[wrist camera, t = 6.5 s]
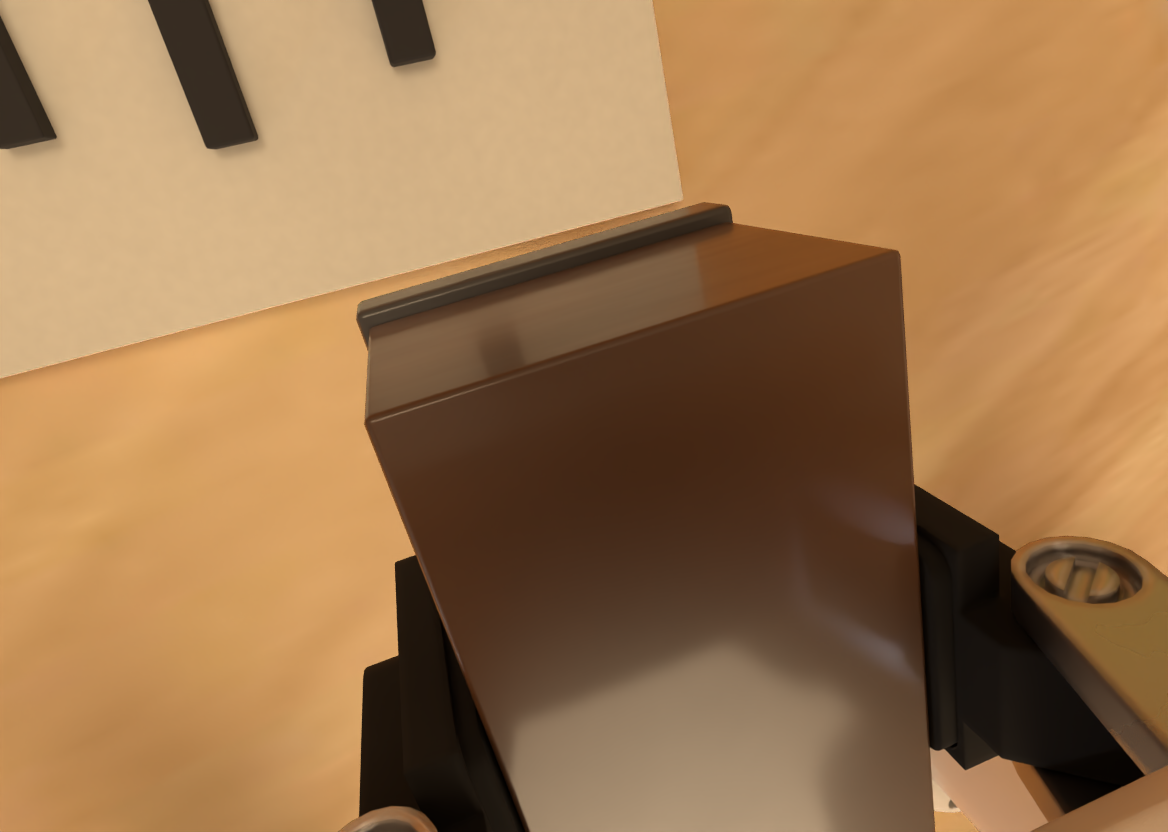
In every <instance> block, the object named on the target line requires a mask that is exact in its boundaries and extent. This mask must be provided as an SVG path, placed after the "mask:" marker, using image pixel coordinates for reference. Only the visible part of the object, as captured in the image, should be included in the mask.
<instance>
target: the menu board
mask: <svg viewBox="0 0 1168 832" xmlns="http://www.w3.org/2000/svg"><path fill="white" fill-rule="evenodd" d="M422 1H423V4H424V8H425V12H426V16H427V20H428V23H429V27H430V31H431V35H432V38H433V42H434V46H435V50H436V55H435V57H434V58H433V59H431V60H426V61H421V62H417V63H412V64H407V65H402V66H398V67H392V66H391V65H390V62H389V59H388V56H387V52H386V49H385V45H384V42H383V38H382V35H381V31H380V28H379V24H378V21H377V17H376V14H375V11H374V7H373V4H372V0H209V3H210V6H211V9H212V11H213V14H214V17H215V20H216V22H217V25H218V28H219V30H220V33H221V36H222V39H223V41H224V44H225V47H226V50H227V52H228V55H229V58H230V60H231V63H232V66H233V69H234V71H235V74H236V77H237V80H238V82H239V85H240V88H241V90H242V93H243V96H244V99H245V101H246V104H247V107H248V110H249V112H250V115H251V118H252V121H253V123H254V126H255V129H256V131H257V134H258V140H256V141H252V142H248V143H243V144H239V145H234V146H230V147H225V148H221V149H216V150H215V149H207V147H206V146H205V144H204V141H203V139H202V136H201V134H200V131H199V129H198V126H197V124H196V121H195V119H194V116H193V113H192V111H191V108H190V106H189V103H188V101H187V98H186V96H185V93H184V91H183V88H182V86H181V83H180V81H179V78H178V76H177V73H176V70H175V68H174V65H173V63H172V60H171V58H170V55H169V53H168V50H167V48H166V45H165V43H164V40H163V38H162V35H161V33H160V30H159V27H158V25H157V22H156V20H155V17H154V15H153V12H152V10H151V7H150V5H149V2H148V0H0V16H1V18H2V20H3V23H4V25H5V27H6V29H7V31H8V33H9V35H10V37H11V40H12V42H13V44H14V46H15V48H16V50H17V52H18V55H19V57H20V59H21V61H22V63H23V65H24V67H25V70H26V72H27V74H28V76H29V78H30V80H31V82H32V84H33V87H34V89H35V91H36V93H37V95H38V97H39V99H40V102H41V104H42V106H43V108H44V110H45V112H46V114H47V116H48V119H49V121H50V123H51V125H52V127H53V129H54V131H55V134H56V136H57V138H56V139H53V140H49V141H44V142H39V143H35V144H30V145H25V146H20V147H16V148H11V149H0V379H1V378H5V377H9V376H12V375H16V374H20V373H24V372H28V371H32V370H35V369H39V368H43V367H47V366H51V365H55V364H58V363H62V362H66V361H70V360H74V359H78V358H81V357H85V356H89V355H93V354H97V353H100V352H104V351H108V350H112V349H116V348H120V347H123V346H127V345H131V344H135V343H139V342H143V341H146V340H150V339H154V338H158V337H162V336H166V335H169V334H173V333H177V332H181V331H185V330H189V329H192V328H196V327H200V326H204V325H208V324H212V323H215V322H219V321H223V320H227V319H231V318H235V317H238V316H242V315H246V314H250V313H254V312H258V311H261V310H265V309H269V308H273V307H277V306H281V305H284V304H288V303H292V302H296V301H300V300H303V299H307V298H311V297H315V296H319V295H323V294H326V293H330V292H334V291H338V290H342V289H346V288H349V287H353V286H357V285H361V284H365V283H369V282H372V281H376V280H380V279H384V278H388V277H392V276H395V275H399V274H403V273H407V272H411V271H415V270H418V269H422V268H426V267H430V266H434V265H438V264H441V263H445V262H449V261H453V260H457V259H461V258H464V257H468V256H472V255H476V254H480V253H484V252H487V251H491V250H495V249H499V248H503V247H506V246H510V245H514V244H518V243H522V242H526V241H529V240H533V239H537V238H541V237H545V236H549V235H552V234H556V233H560V232H564V231H568V230H572V229H575V228H579V227H583V226H587V225H591V224H595V223H598V222H602V221H606V220H610V219H614V218H618V217H621V216H625V215H629V214H633V213H637V212H641V211H644V210H648V209H652V208H656V207H660V206H664V205H667V204H671V203H675V202H679V201H682V200H683V193H682V186H681V180H680V174H679V167H678V161H677V154H676V148H675V141H674V135H673V129H672V122H671V116H670V109H669V103H668V97H667V90H666V84H665V77H664V71H663V64H662V58H661V52H660V45H659V39H658V32H657V26H656V20H655V13H654V7H653V0H422Z"/></svg>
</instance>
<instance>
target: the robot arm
mask: <svg viewBox="0 0 1168 832" xmlns="http://www.w3.org/2000/svg"><path fill="white" fill-rule="evenodd" d="M914 491H915V508H916V524H917V541H918V557H919V574H920V590H921V607H922V623H923V640H924V656H925V673H926V689H927V706H928V722H929V739H930V755H931V772H932V788H933V805H934V811H939V812H962V813H963V814H964V815H965V816H966V817H967V818H968V819H969V820H970V821H971V823H972V824H973V825H974V826H975V827H976V828H977V829H978V830H979V831H980V832H1168V577H1166V576H1165V575H1164V574H1163V573H1162V572H1160V571H1159V570H1158V569H1157V568H1155V567H1154V566H1153V565H1152V564H1151V563H1149V562H1148V561H1147V560H1145V559H1144V558H1142V557H1141V556H1139V555H1137V554H1136V553H1134V552H1133V551H1131V550H1129V549H1126V548H1124V547H1121V546H1119V545H1116V544H1113V543H1111V542H1107V541H1102V540H1098V539H1093V538H1088V537H1075V536H1059V537H1048V538H1043V539H1040V540H1036V541H1033V542H1030V543H1028V544H1026V545H1025V546H1023V547H1022V548H1020V549H1018V550H1017V552H1016V551H1015V550H1013V549H1012V548H1010V547H1008V546H1007V545H1005V544H1003V543H1002V542H1000V541H999V535H998V534H996V533H995V532H993V531H991V530H990V529H988V528H986V527H985V526H983V525H981V524H980V523H978V522H976V521H975V520H973V519H971V518H970V517H968V516H966V515H965V514H963V513H961V512H960V511H958V510H956V509H955V508H953V507H951V506H950V505H948V504H946V503H945V502H943V501H941V500H940V499H938V498H936V497H935V496H933V495H931V494H930V493H928V492H926V491H925V490H923V489H921V488H920V487H918V486H916V485H915V484H914ZM395 581H396V605H397V628H398V652H399V655H398V656H396V657H393V658H390V659H388V660H385V661H382V662H380V663H377V664H374V665H372V666H369V667H367V668H366V669H365V670H364V676H363V703H362V738H361V773H360V807H359V818H357V819H355V820H353V821H351V822H350V823H348V824H347V825H346V826H345V827H343V828H342V829H341V830H339V831H338V832H525V830H524V828H523V825H522V823H521V820H520V818H519V815H518V813H517V810H516V808H515V805H514V802H513V800H512V797H511V795H510V792H509V790H508V787H507V785H506V782H505V780H504V777H503V775H502V772H501V770H500V767H499V764H498V762H497V759H496V757H495V754H494V752H493V749H492V747H491V744H490V742H489V739H488V737H487V734H486V732H485V729H484V726H483V724H482V721H481V719H480V716H479V714H478V711H477V709H476V706H475V704H474V701H473V699H472V696H471V694H470V691H469V688H468V686H467V683H466V681H465V678H464V676H463V673H462V671H461V668H460V666H459V663H458V661H457V658H456V656H455V653H454V650H453V648H452V645H451V643H450V640H449V638H448V635H447V633H446V630H445V628H444V625H443V623H442V620H441V618H440V615H439V612H438V610H437V607H436V605H435V602H434V600H433V597H432V595H431V592H430V590H429V587H428V585H427V582H426V580H425V577H424V574H423V572H422V569H421V567H420V564H419V562H418V559H417V557H416V555H414V556H411V557H409V558H406V559H403V560H400V561H397V562H395Z"/></svg>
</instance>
